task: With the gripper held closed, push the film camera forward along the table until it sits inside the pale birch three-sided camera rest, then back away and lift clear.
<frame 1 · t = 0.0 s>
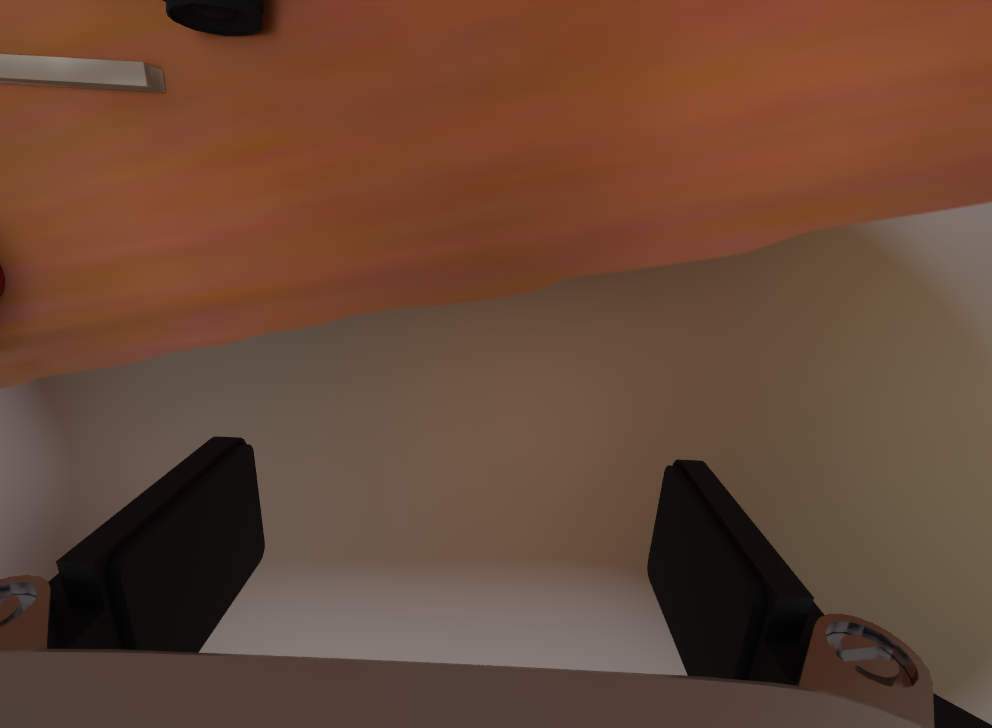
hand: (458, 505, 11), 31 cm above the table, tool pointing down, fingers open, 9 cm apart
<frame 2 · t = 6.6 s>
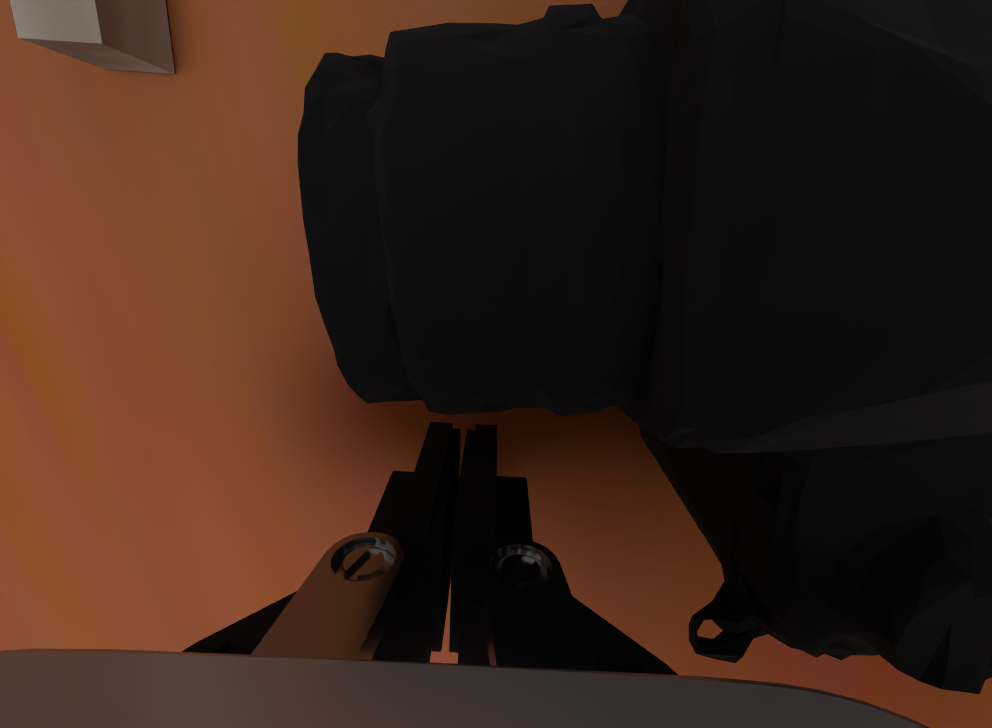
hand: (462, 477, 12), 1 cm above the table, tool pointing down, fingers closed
film camera: (601, 198, 11), on the table
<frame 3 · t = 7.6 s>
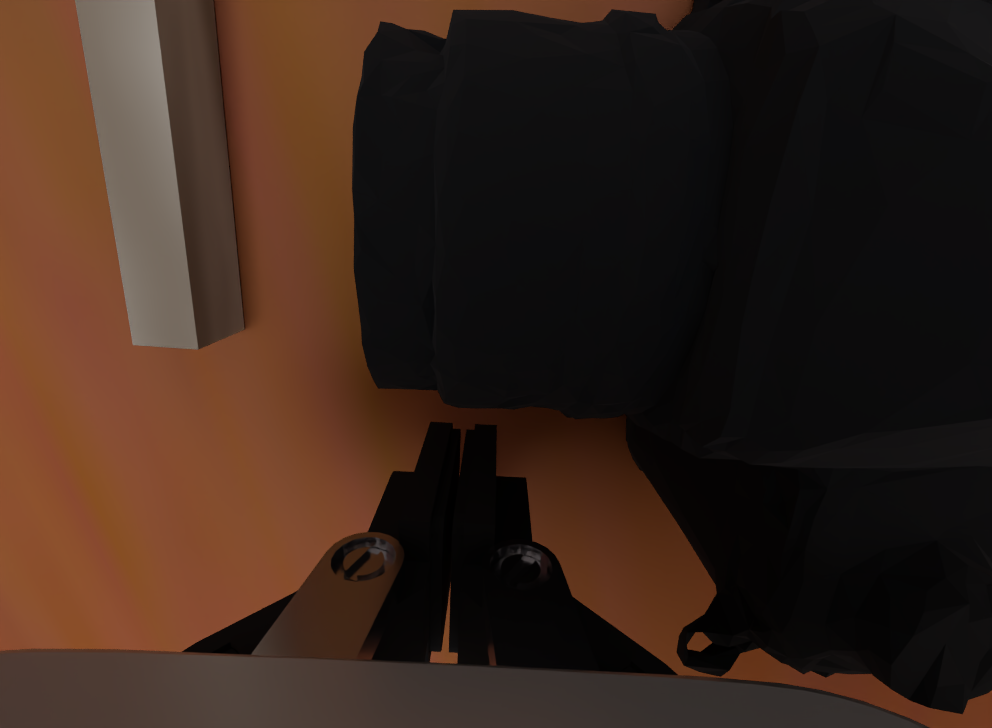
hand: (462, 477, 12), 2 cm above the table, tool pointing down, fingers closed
film camera: (614, 210, 12), on the table, touching camera rest, gripper
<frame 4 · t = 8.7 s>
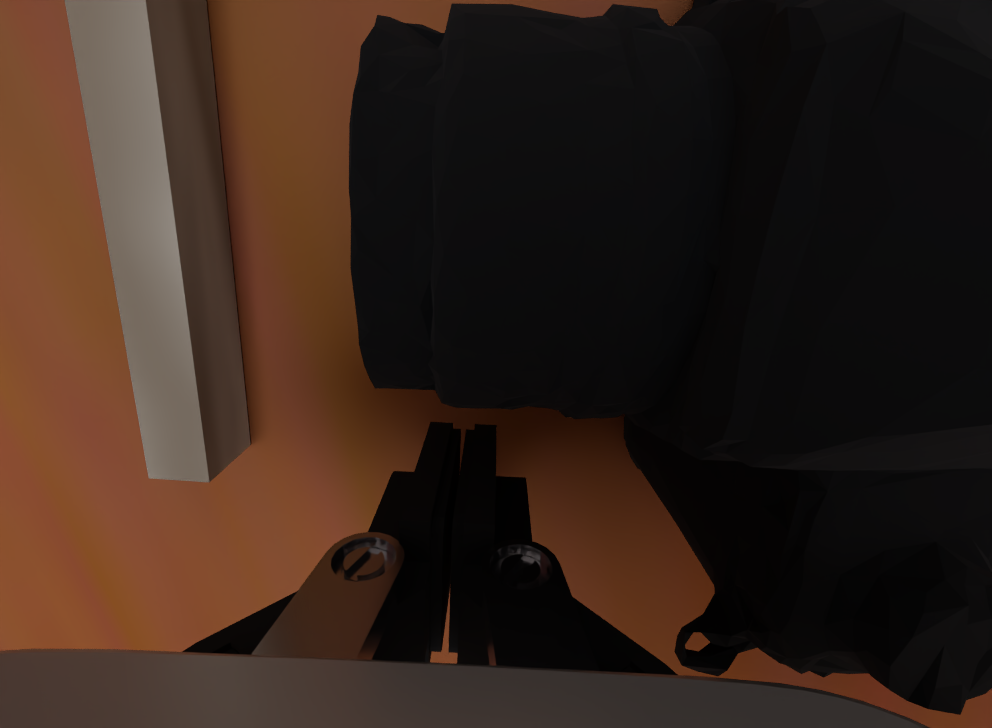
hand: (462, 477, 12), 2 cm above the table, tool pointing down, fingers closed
film camera: (613, 207, 11), on the table, touching camera rest, gripper
camera rest: (524, 27, 10), on the table
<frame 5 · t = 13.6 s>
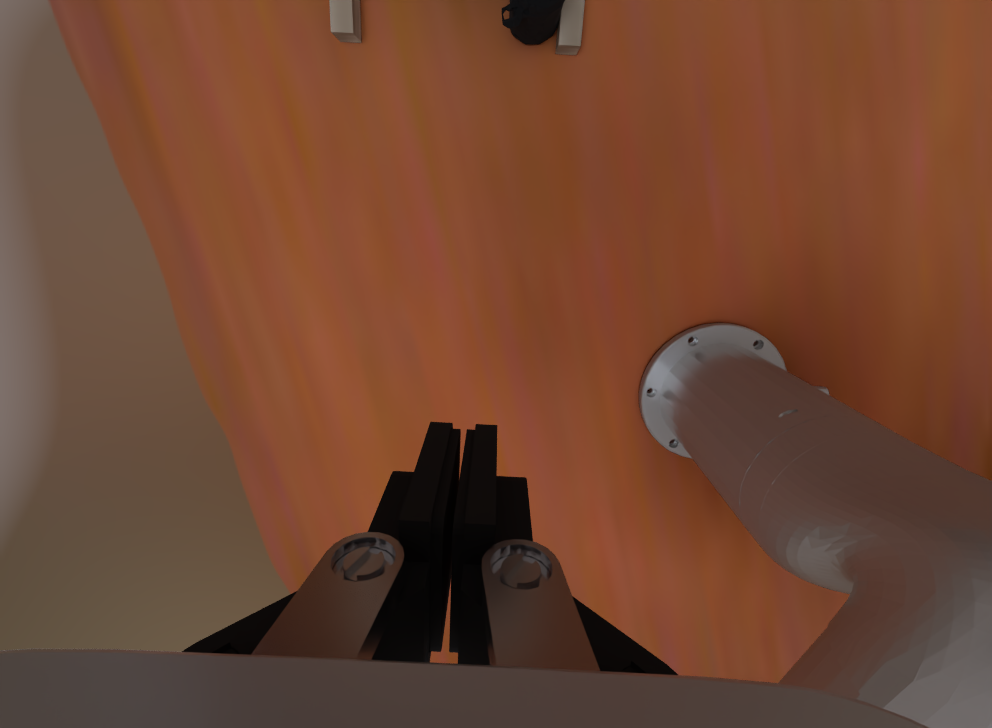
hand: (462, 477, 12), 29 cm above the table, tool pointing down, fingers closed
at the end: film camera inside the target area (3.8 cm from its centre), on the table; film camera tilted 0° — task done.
